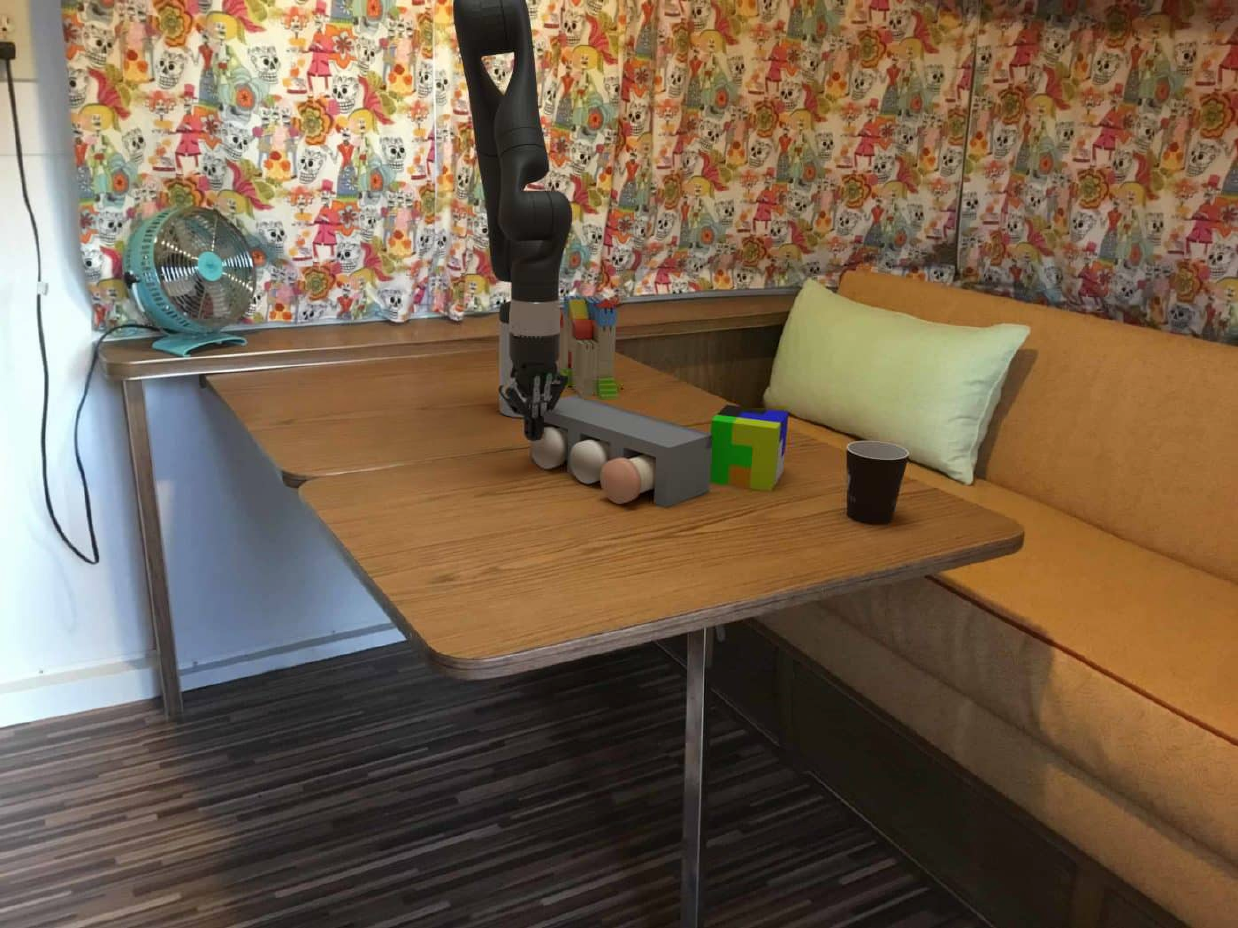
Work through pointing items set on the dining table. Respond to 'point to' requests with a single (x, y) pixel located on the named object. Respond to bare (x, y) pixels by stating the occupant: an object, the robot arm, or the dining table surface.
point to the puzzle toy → (748, 447)
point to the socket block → (640, 444)
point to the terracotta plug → (628, 477)
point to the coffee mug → (874, 480)
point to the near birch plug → (550, 447)
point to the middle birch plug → (589, 459)
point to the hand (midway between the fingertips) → (533, 439)
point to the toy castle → (588, 345)
